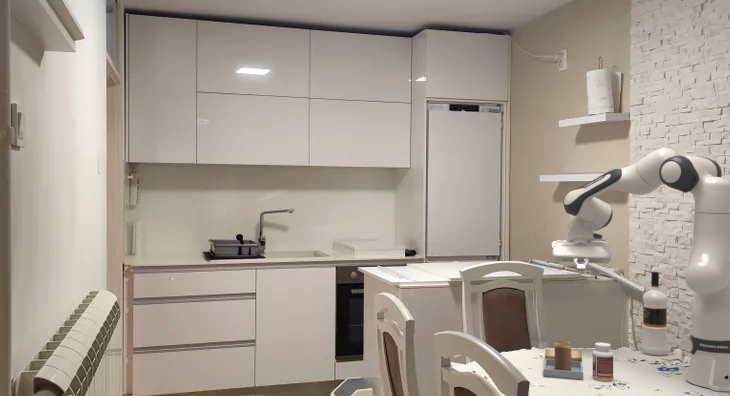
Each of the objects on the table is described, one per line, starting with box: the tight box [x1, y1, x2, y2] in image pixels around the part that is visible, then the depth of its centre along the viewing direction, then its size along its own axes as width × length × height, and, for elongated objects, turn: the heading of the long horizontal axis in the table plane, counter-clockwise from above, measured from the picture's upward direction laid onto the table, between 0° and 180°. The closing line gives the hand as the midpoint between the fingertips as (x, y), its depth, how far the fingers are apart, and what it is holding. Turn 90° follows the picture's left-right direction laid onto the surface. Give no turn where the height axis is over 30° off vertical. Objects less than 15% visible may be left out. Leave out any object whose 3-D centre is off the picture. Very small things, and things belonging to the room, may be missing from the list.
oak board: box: [544, 348, 583, 363], centre depth 218 cm, size 12×10×4 cm
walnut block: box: [554, 340, 572, 371], centre depth 206 cm, size 5×9×9 cm
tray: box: [543, 358, 584, 381], centre depth 206 cm, size 12×13×2 cm
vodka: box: [640, 271, 669, 357], centre depth 232 cm, size 9×9×30 cm
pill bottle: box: [592, 342, 614, 382], centre depth 200 cm, size 6×6×11 cm
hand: (581, 270), depth 226 cm, fingers closed
